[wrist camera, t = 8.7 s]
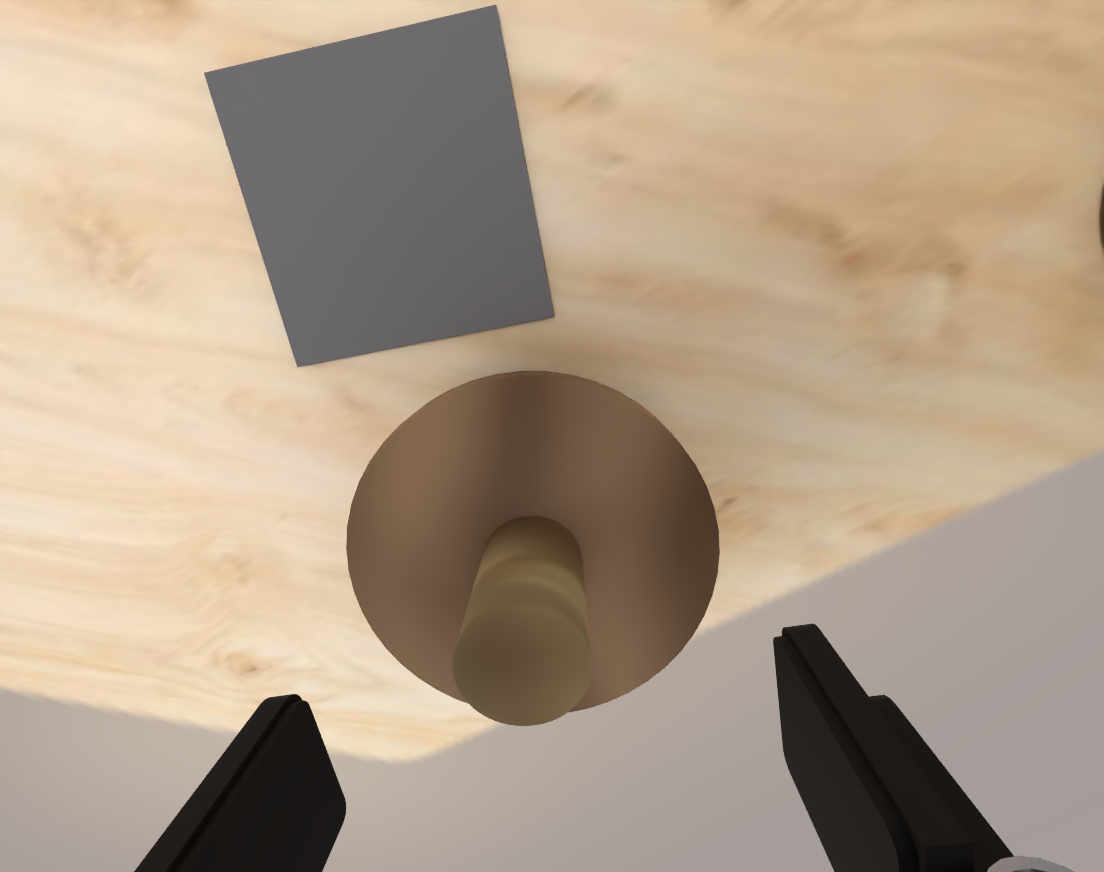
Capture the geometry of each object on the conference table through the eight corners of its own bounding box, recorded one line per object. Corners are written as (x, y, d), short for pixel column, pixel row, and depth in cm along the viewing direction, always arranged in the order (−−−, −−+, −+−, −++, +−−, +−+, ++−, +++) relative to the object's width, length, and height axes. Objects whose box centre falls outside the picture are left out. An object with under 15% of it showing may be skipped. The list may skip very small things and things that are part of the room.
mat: (497, 11, 24) (496, 4, 23) (554, 316, 28) (554, 316, 27) (212, 78, 25) (204, 73, 24) (302, 365, 28) (297, 367, 28)
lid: (686, 337, 16) (762, 363, 10) (726, 663, 19) (803, 831, 13) (315, 408, 17) (180, 471, 11) (410, 711, 20) (347, 891, 14)
